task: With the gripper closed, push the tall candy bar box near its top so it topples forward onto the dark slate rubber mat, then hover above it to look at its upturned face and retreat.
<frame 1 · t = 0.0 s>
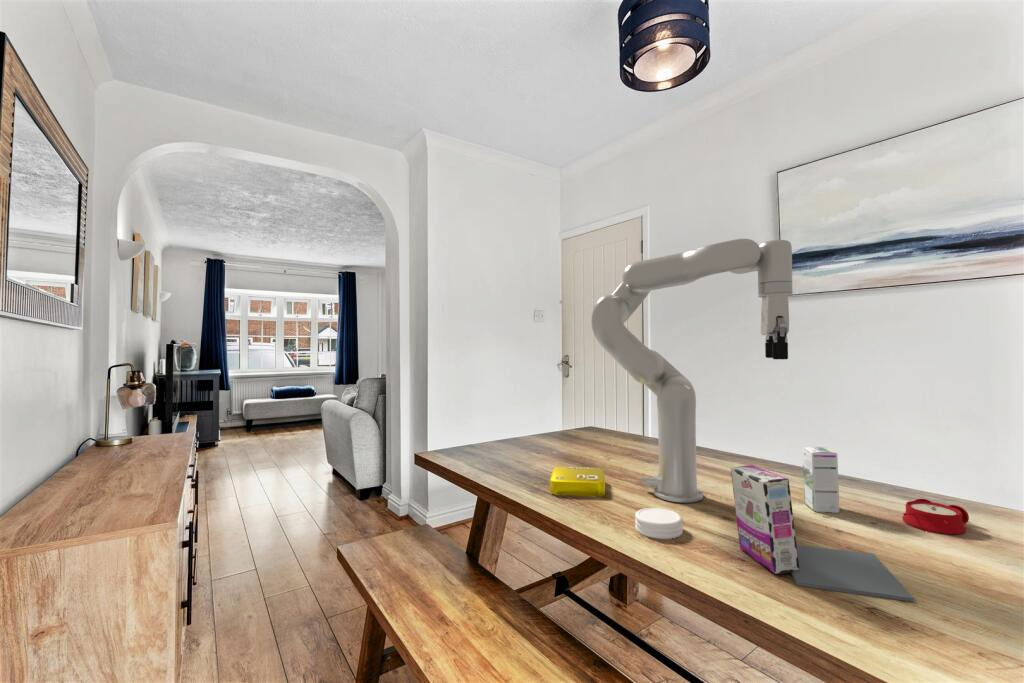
hand: (776, 358, 116), 37 cm above the table, tool pointing down, fingers open, 9 cm apart
element tile: (578, 489, 132), on the table
syrup box: (821, 509, 113), on the table
candy bar box: (768, 560, 86), on the table, touching slate mat
alarm clock: (935, 525, 103), on the table
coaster: (658, 531, 102), on the table
slate mat: (837, 570, 83), on the table
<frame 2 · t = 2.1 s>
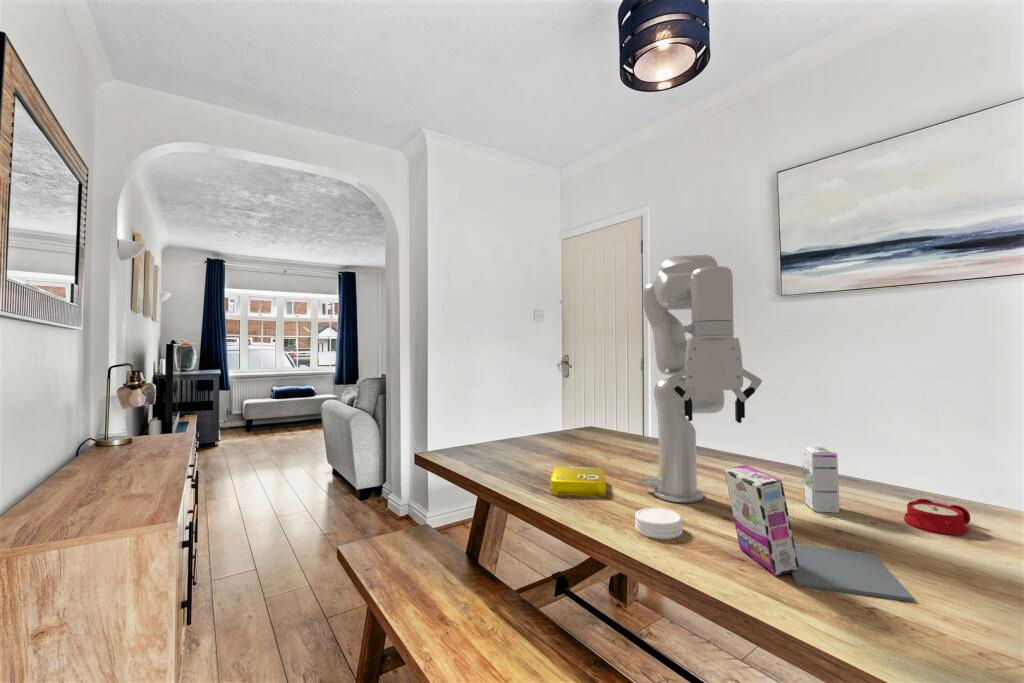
hand: (713, 420, 90), 26 cm above the table, tool pointing down, fingers open, 8 cm apart
candy bar box: (768, 560, 86), on the table, touching slate mat
everything else where it was.
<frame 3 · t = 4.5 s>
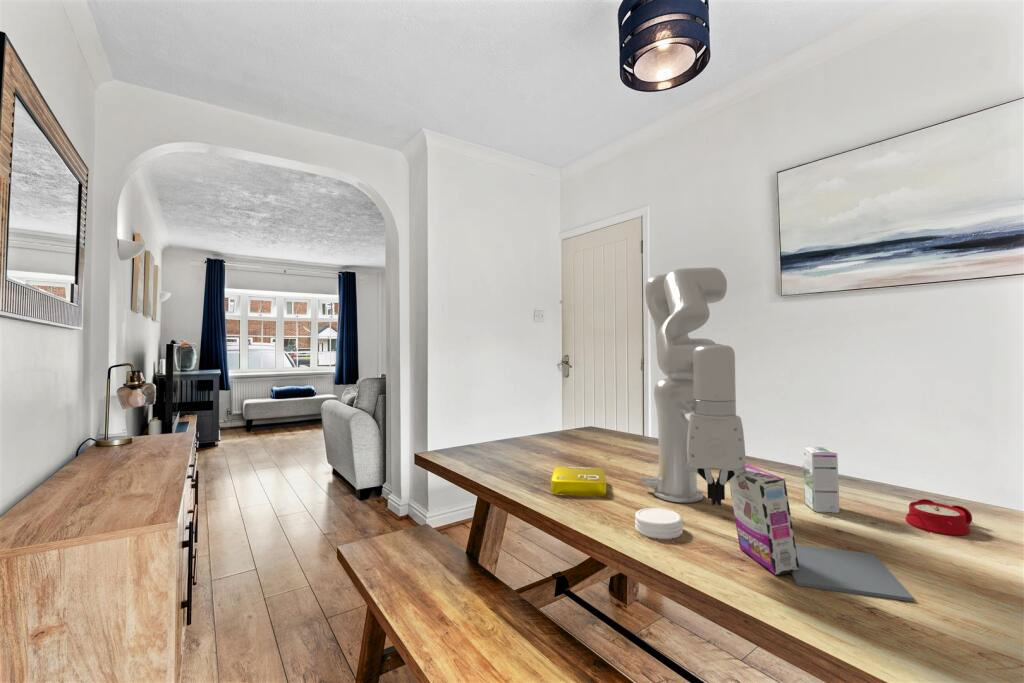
hand: (716, 502, 90), 10 cm above the table, tool pointing down, fingers closed
nothing on the table moved.
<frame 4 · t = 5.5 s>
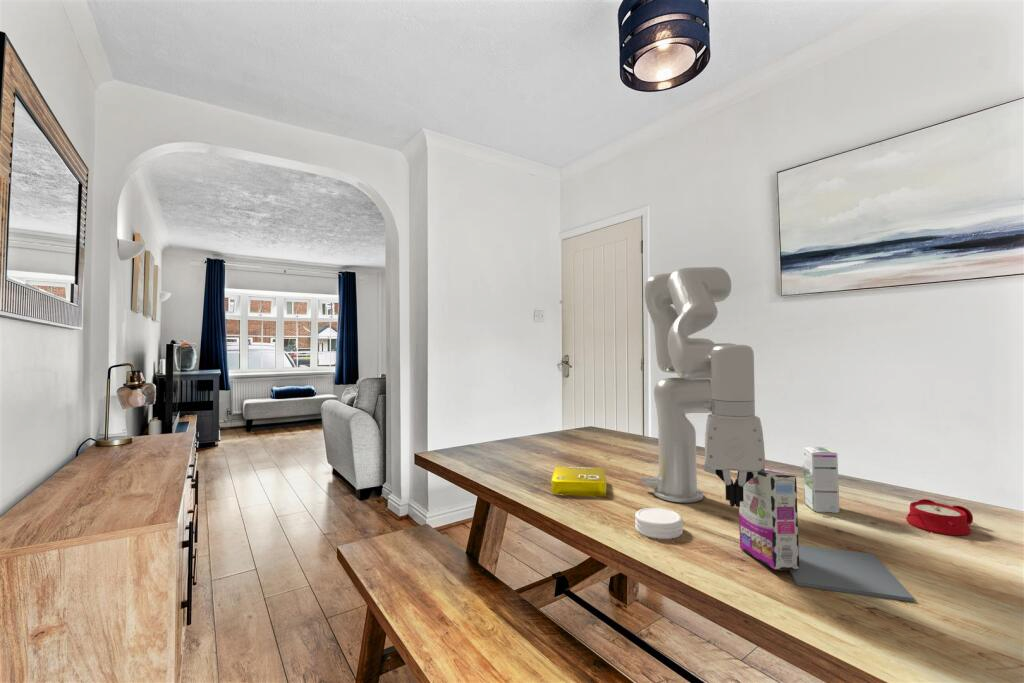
hand: (734, 504, 88), 10 cm above the table, tool pointing down, fingers closed
candy bar box: (768, 559, 86), on the table, touching gripper, slate mat
everything else where it was.
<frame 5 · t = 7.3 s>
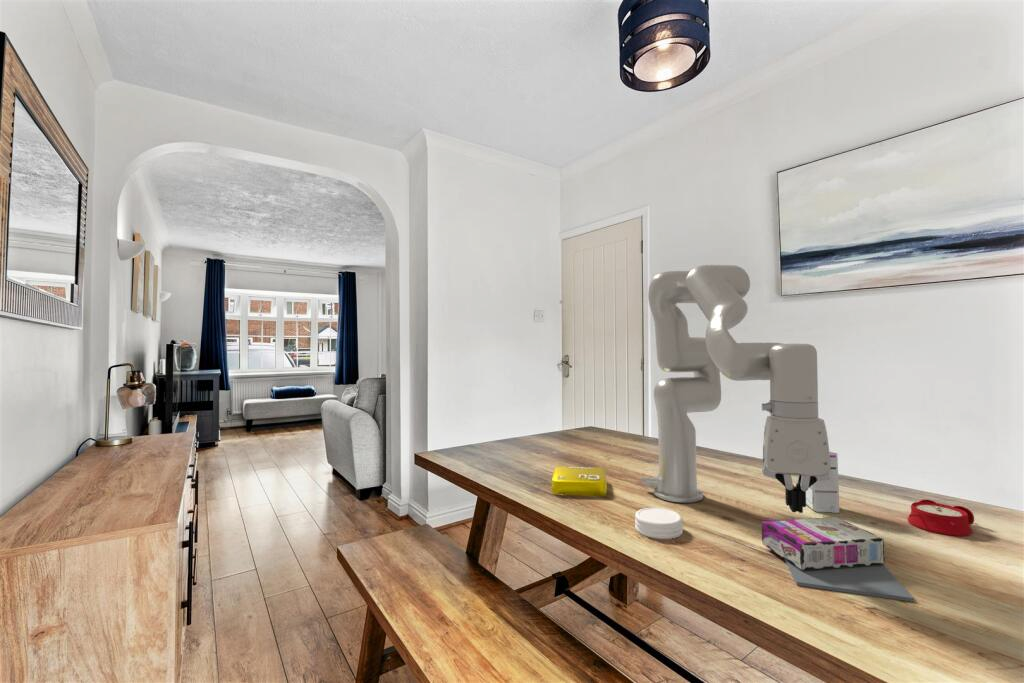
hand: (795, 509, 85), 10 cm above the table, tool pointing down, fingers closed
candy bar box: (778, 544, 87), point 3 cm above the table, touching slate mat
everything else where it was.
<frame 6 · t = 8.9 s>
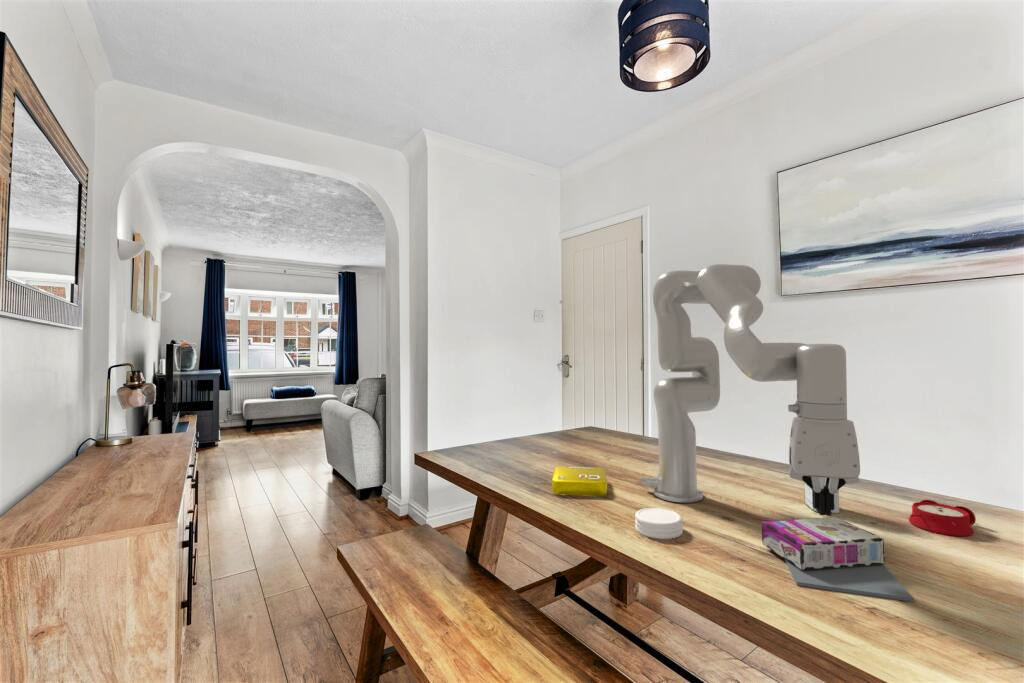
hand: (823, 512, 83), 10 cm above the table, tool pointing down, fingers closed
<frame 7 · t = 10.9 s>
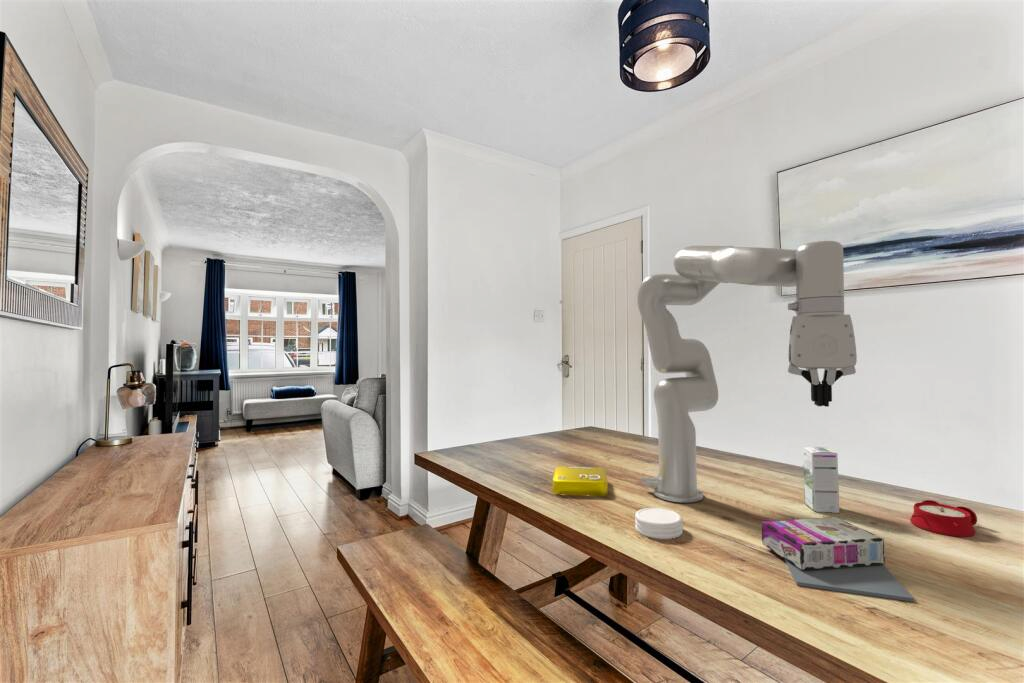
hand: (821, 405, 87), 29 cm above the table, tool pointing down, fingers closed
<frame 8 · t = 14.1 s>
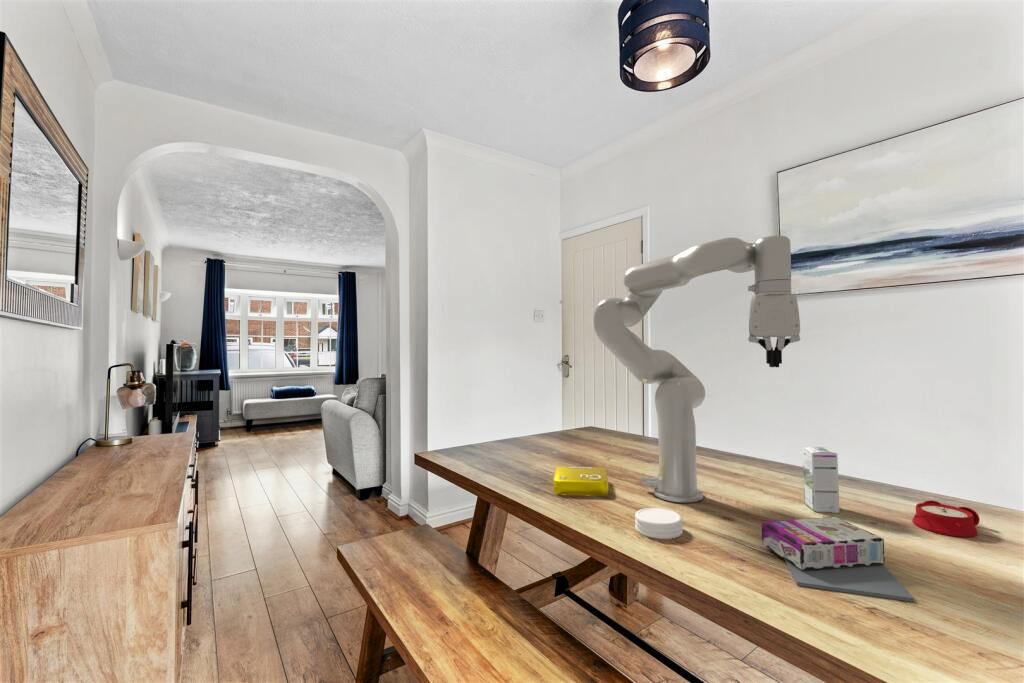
hand: (774, 366, 109), 35 cm above the table, tool pointing down, fingers closed
at the end: candy bar box tilted 89°; candy bar box touching slate mat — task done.
